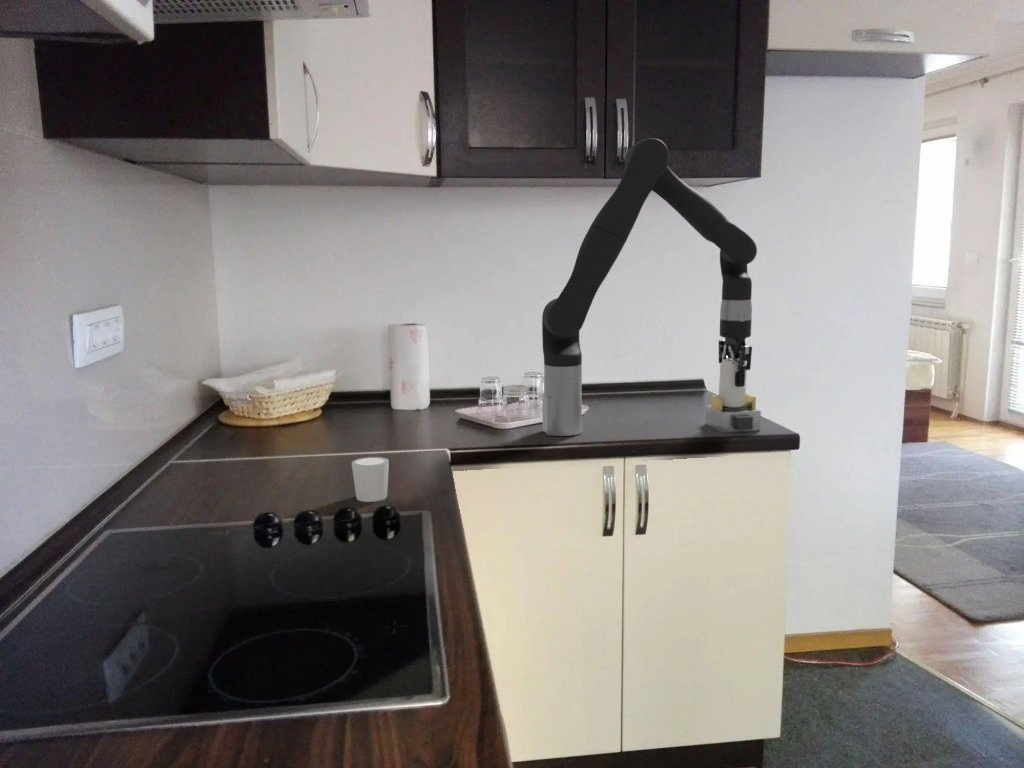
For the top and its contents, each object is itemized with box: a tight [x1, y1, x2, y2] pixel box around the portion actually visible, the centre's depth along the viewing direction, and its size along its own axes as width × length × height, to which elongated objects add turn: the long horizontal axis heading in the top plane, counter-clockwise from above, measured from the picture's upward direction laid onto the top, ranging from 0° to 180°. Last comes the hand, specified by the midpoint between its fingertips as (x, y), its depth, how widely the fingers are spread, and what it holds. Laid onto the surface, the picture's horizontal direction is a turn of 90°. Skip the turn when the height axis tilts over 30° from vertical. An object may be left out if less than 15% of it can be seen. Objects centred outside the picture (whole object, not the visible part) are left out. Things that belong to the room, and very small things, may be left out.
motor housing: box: [705, 393, 762, 433], centre depth 201 cm, size 10×12×8 cm
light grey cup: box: [351, 456, 390, 503], centre depth 150 cm, size 7×7×7 cm
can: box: [718, 358, 748, 408], centre depth 201 cm, size 6×6×12 cm
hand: (733, 383), depth 201 cm, fingers open, 6 cm apart
